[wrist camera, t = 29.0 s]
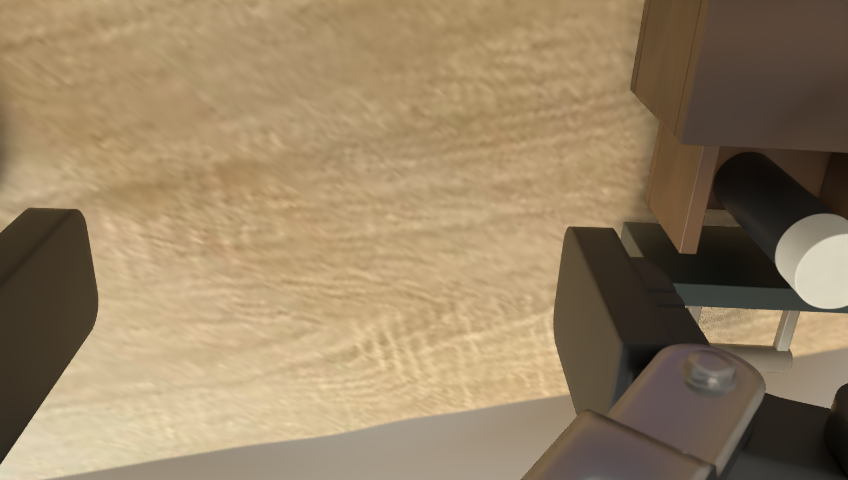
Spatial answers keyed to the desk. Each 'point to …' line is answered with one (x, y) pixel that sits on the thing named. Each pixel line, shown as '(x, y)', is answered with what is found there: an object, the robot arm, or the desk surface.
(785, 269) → the bottle
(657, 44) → the cabinet
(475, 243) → the desk surface
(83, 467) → the desk surface
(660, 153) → the drawer
